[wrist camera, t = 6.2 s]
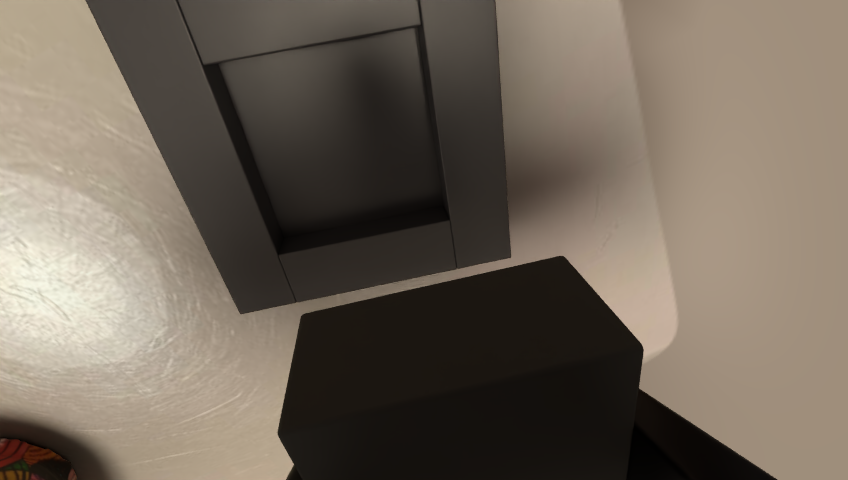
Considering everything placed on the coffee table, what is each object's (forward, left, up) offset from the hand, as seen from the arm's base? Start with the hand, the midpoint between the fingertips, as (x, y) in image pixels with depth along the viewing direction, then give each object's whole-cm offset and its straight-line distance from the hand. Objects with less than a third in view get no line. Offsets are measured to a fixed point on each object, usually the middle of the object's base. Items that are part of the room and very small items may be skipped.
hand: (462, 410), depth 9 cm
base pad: (+2, -4, -11) cm, 12 cm away
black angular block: (0, 0, -1) cm, 1 cm away
